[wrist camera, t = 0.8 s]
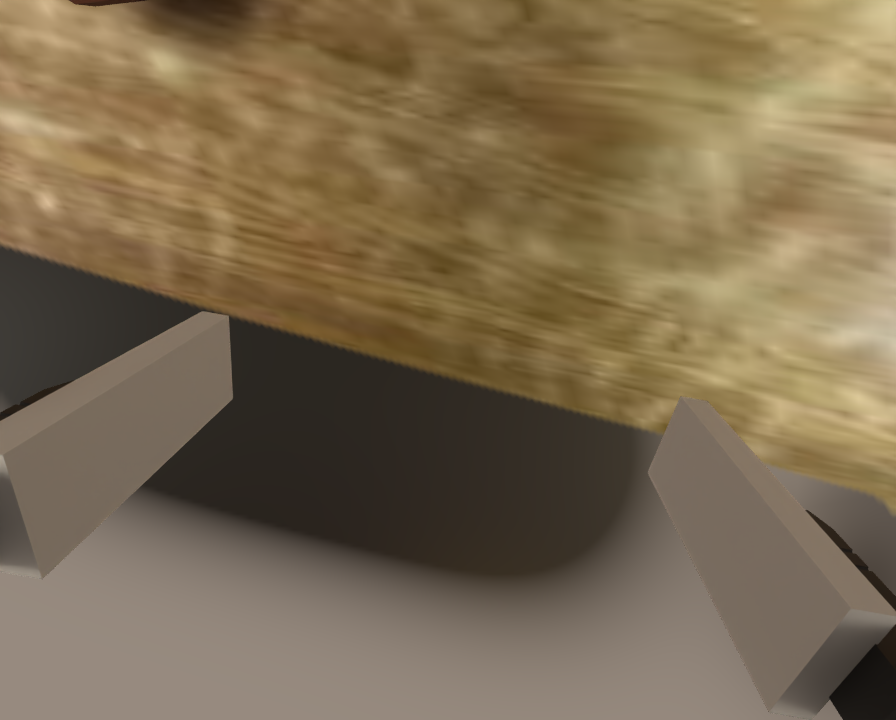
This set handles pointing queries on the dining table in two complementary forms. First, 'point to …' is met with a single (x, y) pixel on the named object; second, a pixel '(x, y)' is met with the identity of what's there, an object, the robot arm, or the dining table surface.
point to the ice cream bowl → (101, 2)
